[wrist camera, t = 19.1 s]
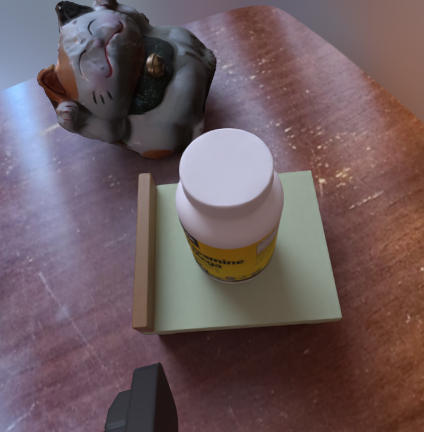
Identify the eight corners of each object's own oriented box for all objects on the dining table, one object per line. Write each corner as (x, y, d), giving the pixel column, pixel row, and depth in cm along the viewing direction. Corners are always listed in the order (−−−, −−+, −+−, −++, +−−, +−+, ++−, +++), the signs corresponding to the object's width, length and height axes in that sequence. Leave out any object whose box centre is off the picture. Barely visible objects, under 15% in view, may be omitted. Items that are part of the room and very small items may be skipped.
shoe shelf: (302, 199, 34) (315, 156, 28) (327, 329, 29) (350, 312, 22) (158, 212, 35) (138, 173, 29) (156, 341, 29) (131, 328, 23)
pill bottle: (177, 257, 27) (136, 181, 17) (223, 197, 29) (210, 98, 19) (245, 303, 25) (243, 247, 15) (290, 235, 27) (314, 147, 17)
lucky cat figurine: (190, 179, 36) (71, 108, 25) (117, 167, 43) (0, 108, 32) (235, 47, 38) (142, -74, 27) (157, 56, 45) (59, -35, 34)
